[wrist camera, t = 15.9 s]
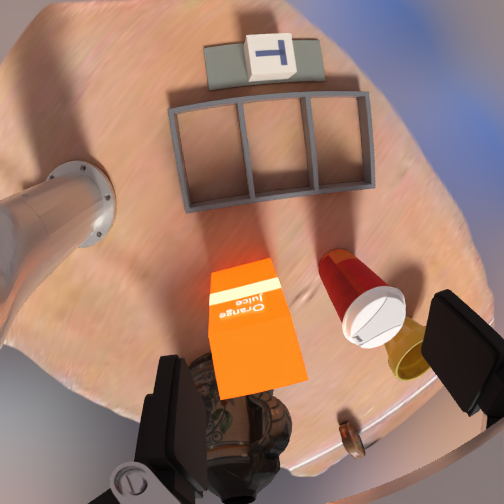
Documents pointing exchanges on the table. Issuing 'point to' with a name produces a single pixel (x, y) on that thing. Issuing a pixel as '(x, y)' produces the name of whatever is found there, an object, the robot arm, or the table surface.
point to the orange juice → (252, 332)
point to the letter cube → (269, 57)
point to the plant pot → (407, 351)
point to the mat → (235, 73)
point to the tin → (351, 440)
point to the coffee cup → (362, 299)
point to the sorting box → (309, 142)
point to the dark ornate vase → (240, 437)
